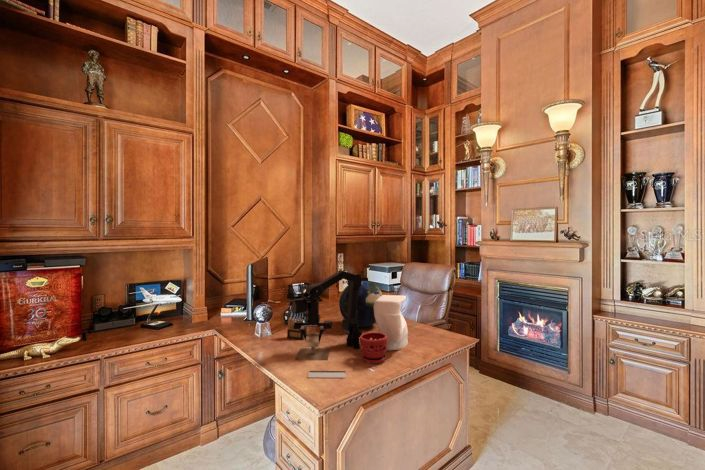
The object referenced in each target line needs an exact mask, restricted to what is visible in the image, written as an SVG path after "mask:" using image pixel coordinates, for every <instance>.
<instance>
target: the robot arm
mask: <svg viewBox="0 0 705 470" xmlns="http://www.w3.org/2000/svg"><path fill="white" fill-rule="evenodd" d="M342 280H345V281H346V283H347V286H348V287H349V298H348V309H347V317H346V318H345V319H344V318H343V319H342V324H341V327H342V330H343V331H344V333H345V335H347V337H346V347H349V348H353V349H355V350H359V349H360V350H361V345H360V336H361V335H362V334H363V333H362V331H361V330H360V329H359V327H358V323H357V320H356V309H357V298H358V290H359V288H360V287H361V284H362V281H363V276H362V275H361V274H358V273H355V272H354V273H353V272H352V273H351V272H348V271H346V270H341V269H339V270H338V271H336V272H335V273H334V274H332V275H329V277H327V278H325V279H323V280H321V281H320V282H319V281H318V282H316V283H312V284H310V285H308V286H306V288H305V291H304V293H303V295H302V296H301V298H295V299H293V301H292V305H291V311H292V313H293V314H302V313H306V314H305V319H306V321H307V322H304V320H303V321H302V320H300V321H299V320H298V321H296V320H295V323H294V329H299V331H301V332H302V334H303V335H304V338H305V339H304V340H305V341H306V336H307V334H308V333H307V328H308V327H309V328H311V327H312V328H314V327H315V328H316V327H317V328H318V327H320V329H319V331H318V333H319V342H320V343H321V340H322V335H323V333H324V332H325V331H327V330H331V329H332V327H333V321H332V320H324V321H323V322H320V310H319V309H320V305H319V304H320V303H321V302H323V301H324V300H323V298H321V297H320V296H321V295H322V294H323V293H324V292H325V290H327V289H328V288H330V287H332V286H333V285H335V284H337V283H338V282H340V281H342Z"/></svg>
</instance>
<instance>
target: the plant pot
mask: <svg viewBox="0 0 705 470" xmlns="http://www.w3.org/2000/svg"><path fill="white" fill-rule="evenodd" d="M379 338H380V339H379ZM359 346H360V350H361V353H362V359H363V361H364V362H365V363H367V364H381V363H384V362H385V361H386V359H387V355H386V352H387V350H386V349H387V336H386V335H385V334H383V333H378V331H376V332H375V331H374V332H366V333H362V335H361V336H360V337H359Z"/></svg>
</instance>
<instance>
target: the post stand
mask: <svg viewBox="0 0 705 470" xmlns="http://www.w3.org/2000/svg"><path fill="white" fill-rule="evenodd" d="M330 351H331V347H328V348H324V347H323V348H321V347H305V348H304V347H300V348H299V350H298V352H297V354H296V355H295V358H294V361H329V357H330Z"/></svg>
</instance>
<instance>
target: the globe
mask: <svg viewBox="0 0 705 470" xmlns="http://www.w3.org/2000/svg"><path fill="white" fill-rule="evenodd" d="M382 295H384V294H383V292H382V291H381V289H380V288H379V287H378V286H377V285H376V284H375V283H373V282H370V281H367V280H362V284H361V287H360V288H359V290H358V298H357V309H356V320H357V323H358V328H367V327H370V326H372V325H375V324H376V320H375V317H374V303H375V301H376V300H377V299H378V298H379V297H380V296H382ZM348 298H349V287H348V285H347V286H345V288H343V290H342V292H341V293H340V296H339V300H338V306H339V307H338V308H339V311H340V314H341V317H342V318H343V319H345V318H346V317H347V309H348Z"/></svg>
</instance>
